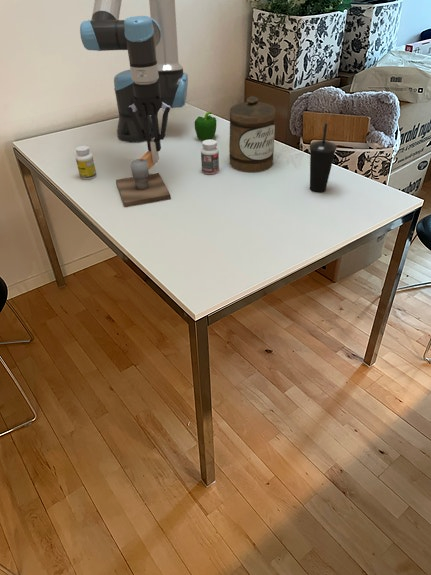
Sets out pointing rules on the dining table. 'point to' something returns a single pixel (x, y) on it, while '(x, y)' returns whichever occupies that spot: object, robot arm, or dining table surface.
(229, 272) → the dining table surface
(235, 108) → the wooden container
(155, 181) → the base
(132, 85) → the robot arm
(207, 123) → the bell pepper
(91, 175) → the supplement bottle
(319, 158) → the drinking cup
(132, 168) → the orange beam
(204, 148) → the pill bottle
